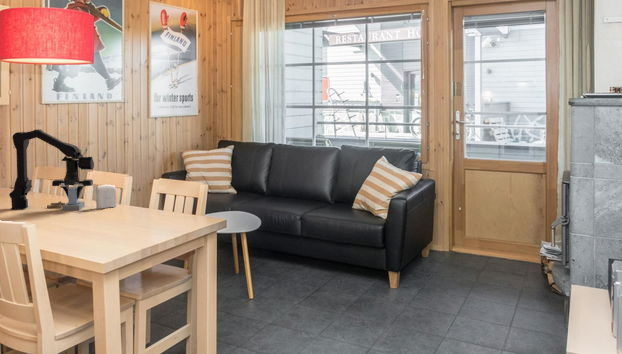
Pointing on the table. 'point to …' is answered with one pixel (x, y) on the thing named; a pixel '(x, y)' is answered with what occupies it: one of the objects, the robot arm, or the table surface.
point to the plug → (72, 195)
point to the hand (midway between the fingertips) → (73, 198)
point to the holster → (56, 205)
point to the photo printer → (105, 196)
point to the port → (73, 206)
